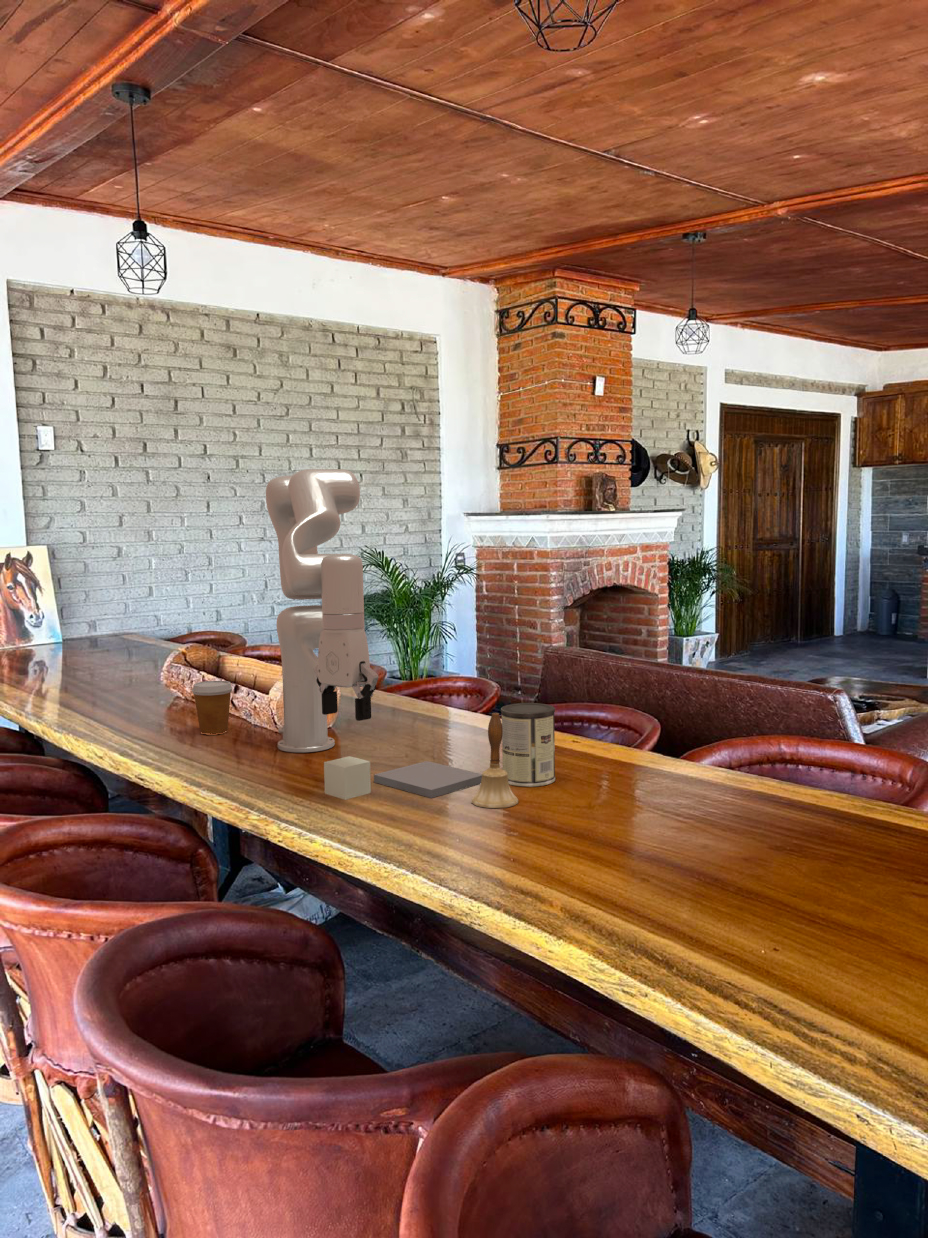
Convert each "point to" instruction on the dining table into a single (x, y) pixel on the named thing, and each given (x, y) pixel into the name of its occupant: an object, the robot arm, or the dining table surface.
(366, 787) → the cube
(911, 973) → the dining table surface
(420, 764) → the slate board
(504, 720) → the coffee can
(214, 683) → the disposable coffee cup
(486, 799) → the hand bell
